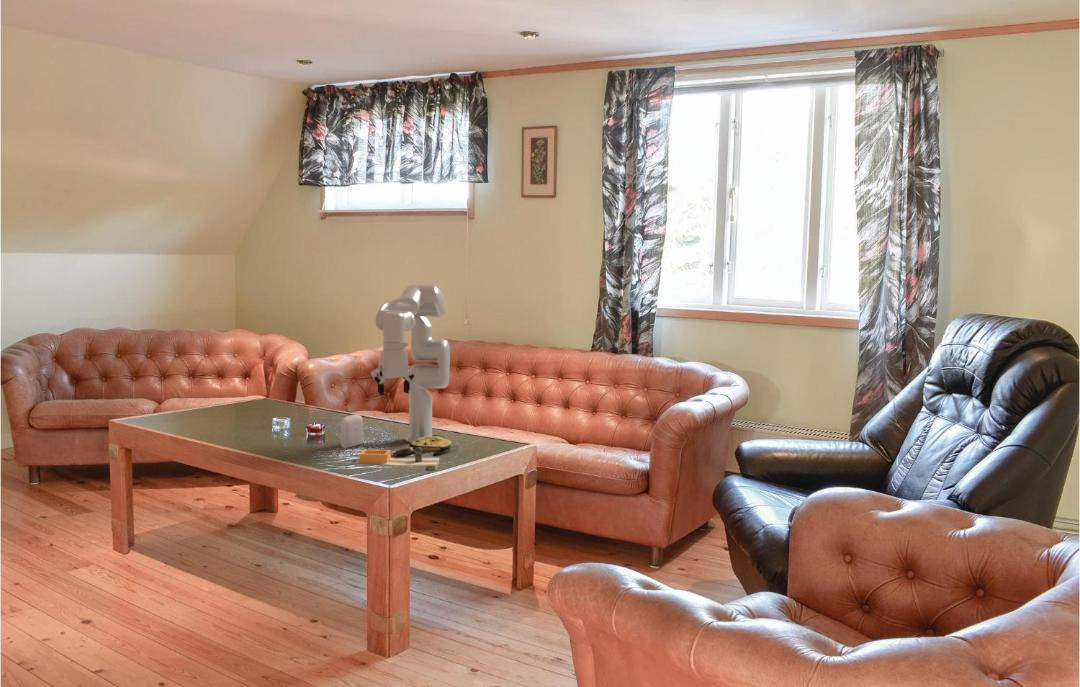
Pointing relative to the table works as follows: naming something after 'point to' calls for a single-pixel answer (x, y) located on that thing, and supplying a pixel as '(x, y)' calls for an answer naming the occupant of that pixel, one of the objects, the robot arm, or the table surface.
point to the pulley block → (427, 446)
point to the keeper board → (409, 461)
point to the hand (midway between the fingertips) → (393, 393)
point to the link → (374, 456)
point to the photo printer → (351, 431)
